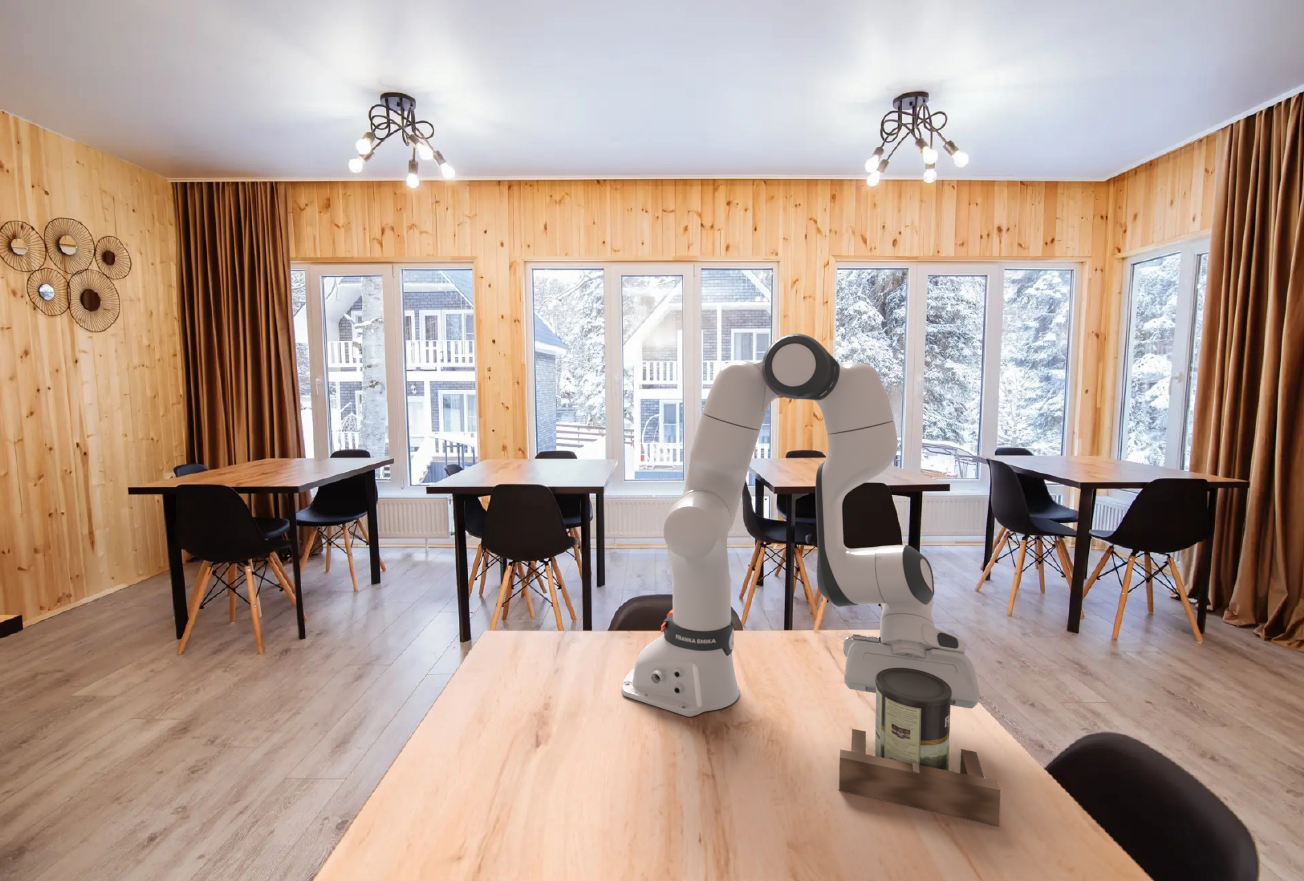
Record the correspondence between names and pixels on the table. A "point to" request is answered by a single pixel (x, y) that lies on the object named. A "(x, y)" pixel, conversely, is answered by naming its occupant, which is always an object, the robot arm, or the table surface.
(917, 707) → the coffee can
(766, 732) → the table surface
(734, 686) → the robot arm
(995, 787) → the walnut rail
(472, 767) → the table surface
